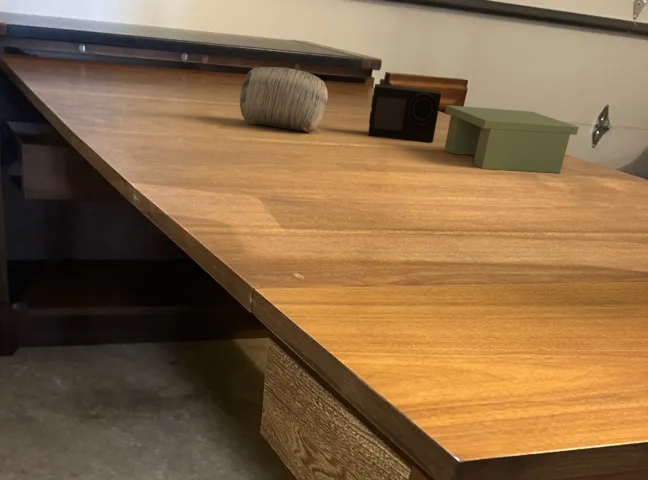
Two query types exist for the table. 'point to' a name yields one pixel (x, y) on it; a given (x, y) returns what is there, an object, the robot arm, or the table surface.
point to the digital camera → (404, 112)
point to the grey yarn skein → (283, 98)
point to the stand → (508, 138)
